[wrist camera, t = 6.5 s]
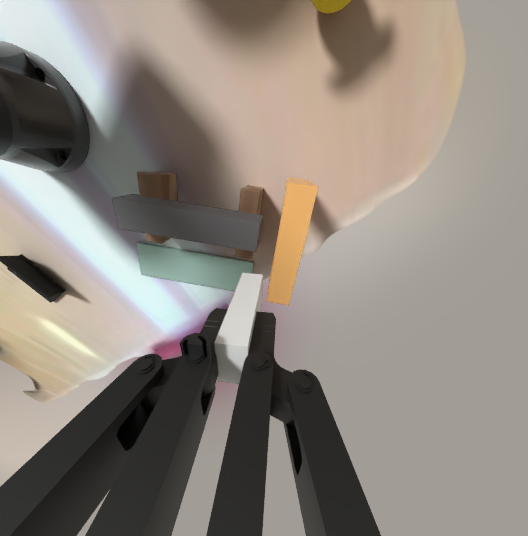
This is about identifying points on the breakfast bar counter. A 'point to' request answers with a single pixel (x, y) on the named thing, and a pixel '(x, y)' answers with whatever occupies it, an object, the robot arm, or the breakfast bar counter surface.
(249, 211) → the cradle
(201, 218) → the grey rectangular bar
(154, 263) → the mat
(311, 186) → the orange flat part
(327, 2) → the lemon
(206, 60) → the breakfast bar counter surface
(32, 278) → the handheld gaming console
